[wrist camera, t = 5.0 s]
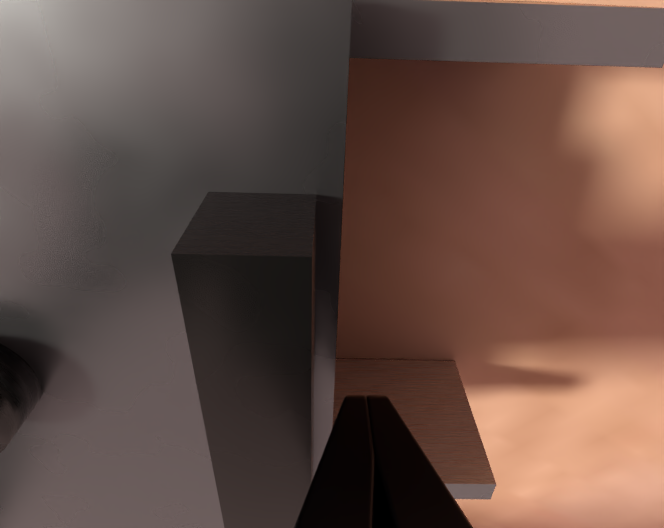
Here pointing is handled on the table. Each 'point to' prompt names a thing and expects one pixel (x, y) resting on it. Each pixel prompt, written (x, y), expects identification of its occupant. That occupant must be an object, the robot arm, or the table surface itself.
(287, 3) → the lid
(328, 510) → the robot arm
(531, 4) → the grey rectangular box
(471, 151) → the table surface
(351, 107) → the table surface
